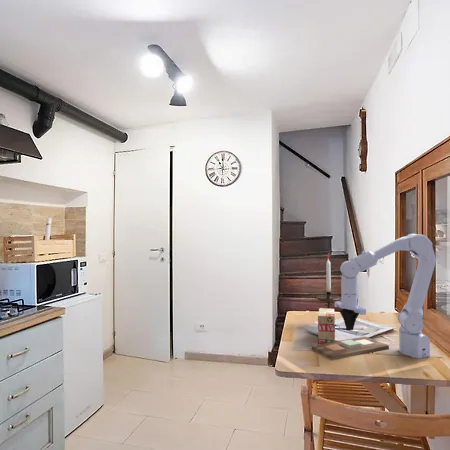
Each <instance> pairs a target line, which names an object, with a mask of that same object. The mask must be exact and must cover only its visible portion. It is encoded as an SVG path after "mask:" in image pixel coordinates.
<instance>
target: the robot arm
mask: <svg viewBox="0 0 450 450" xmlns="http://www.w3.org/2000/svg"><path fill="white" fill-rule="evenodd" d="M399 251H409V252H411V253H412V254H413V256H415V258H416V259H417V261H418V264H417V267H416V270H415V273H414V277H413V281H412V284H411V286H410V287H411V288H410V292H409V294H408V298H407V302H406V303H405V304H404V305H403V307H402V310H401V311H400V312H399V313H398V315H397V322H398V323H399V324H400V327H399V329H398V332H399V333H398V342H399V344H398V345H399V349H398V350H399V351H398V352H399V353H400V354H403V355H406V356H410V357H412V358H414V359H417V360H418V359H419V360H420V359H423V358H427V357H428V358H429V357H430V356H431V349H430V347H431V346H430V344H431V341H430V339H429V337H428V336H427V335H425V334H423V333H422V332H423V328H424V321H423V318H424V310H423V307H424V303H425V300H426V296H427V294H428V292H429V291H428V290H429V287H430V284H431V280H432V276H433V273H434V271H435V270H434V269H435V267H436V263H437V257H436V254H435V251H434V248H433V242H432V241H431V240H430V239H429V238H428V236H426V235H425V234H417V233H409V234H407V235H406V236H402V237H398V238H397V239H395V240H393V241H391V242H389V243H387V244H386V245H384V246H382V247H380V248H379V249H377V250H375V251H371V250H366V251H365V250H363V251H361V253H360V254H358V255H357V256H355V257H350V258H349V260H345V261H343V262H342V263H341V265H340V267H339V270H340V272H341V277H340V278H341V281H340V285H341V286H340V289H341V291H340V294H341V296H340V297H341V301H337V302H334V307H335V308H340V309H342V310H339V313H340V315H341V318H342V319H343V322H344V325H345V329H346V331H353V330H354V328H355V325H356V321H357V319H358V316H359V315H361V316H363V315H364V316H365V315H367V309H366V308H364V307H362V306H360V305H359V303H358V278H357V276H358V275H359V273H362V272H364V271H366V270H369V269H370V268H372V267H375V266H376V265H377V263H378V261H379V260H380V259H383V258H386V257H388V256H390V255H392V254H395V253H397V252H399Z"/></svg>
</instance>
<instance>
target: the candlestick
mask: <svg viewBox="0 0 450 450" xmlns="http://www.w3.org/2000/svg"><path fill="white" fill-rule="evenodd" d="M326 258H327V261H326V268H325V269H326V270H325V271H326V273H325V275H326V279H325V280H326V282H325V283H326V290H324V293H325V292H326V294H319V295H316V300H317V301H320V302H325V303H327V308H326V309H331V303H335V302H337V301H339V302H341V296H339V295H335V294H332V293H333V292H334V291H333V290H332V286H331V285H332V283H331V282H332V279H331V277H332V276H331V275H332V274H331V272H332V271H331V268H332V267H331V261H330V252H328V254H327V257H326ZM336 325H337V324H336ZM337 326H339V325H337Z"/></svg>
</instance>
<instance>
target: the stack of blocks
mask: <svg viewBox="0 0 450 450" xmlns="http://www.w3.org/2000/svg"><path fill="white" fill-rule="evenodd" d="M335 320H336V319H335V308H330V309H327V308H323V307H320V308H318V314H317V333H318V336H317V342H318V343H317V345H319V344H324V343H330V342H336V331H335V325H336V323H335V322H336V321H335Z"/></svg>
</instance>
